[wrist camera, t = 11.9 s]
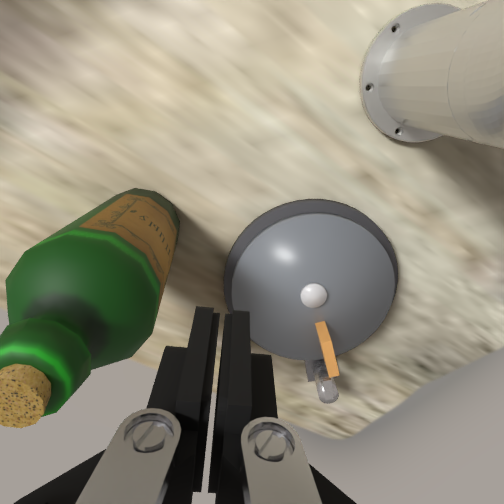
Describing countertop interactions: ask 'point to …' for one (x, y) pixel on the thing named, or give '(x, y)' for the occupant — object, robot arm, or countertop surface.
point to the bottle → (83, 301)
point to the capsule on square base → (322, 380)
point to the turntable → (313, 286)
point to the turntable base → (294, 209)
